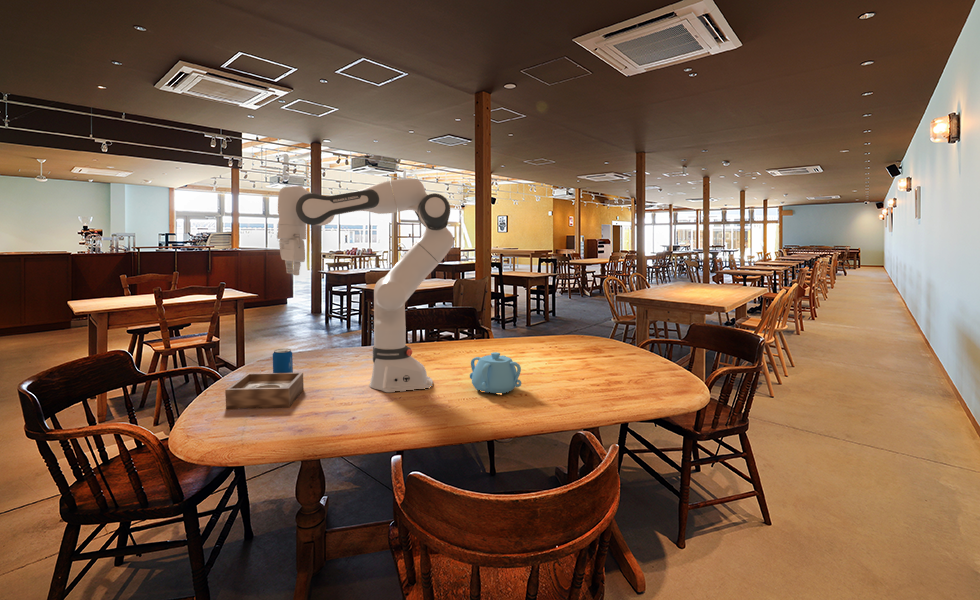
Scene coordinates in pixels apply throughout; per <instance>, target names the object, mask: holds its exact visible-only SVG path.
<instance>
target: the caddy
mask: <svg viewBox="0 0 980 600" xmlns="http://www.w3.org/2000/svg"><path fill="white" fill-rule="evenodd" d="M304 388H305V387H304V372H293V373H273V372H263V373H261V372H259V373H258V372H257V373H255V372H254V373H246V374H245V375H243V376H242V377H240V378H239V379H238V380H237V381H235V382H234V383H232V384H231V385H230V386H229V387H227V388H225V390H224V392H225V410H242V409H244V408H249V409H279V408H280V409H281V408H282V407H283V408H284V407H287V408H290V407H291V405H292V404H293V403H295V401H296V400H297V398H298V397H299V396H300V394H301V393H302V392H303V391H304ZM238 408H240V409H238ZM241 408H242V409H241ZM244 410H245V409H244Z"/></svg>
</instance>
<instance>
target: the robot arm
mask: <svg viewBox="0 0 980 600" xmlns="http://www.w3.org/2000/svg"><path fill="white" fill-rule="evenodd" d="M403 211H413V212H414V213H415V215H416V216H417V218H418V220H419V221H420V223H421V225H423V226H424V227H425V231H424V233H423V235H422V236H420V238H419V239H418V240H417V241H416V242H415V243H414V244H413V245H412V246H411V247H410V248H409V249H408V250H407V251H406V252H405V254H404V255H403V256H401V258H399V260H398V261H397V262H396V263H395V264H394V265H393V267H392V268H391V269H390V270H389V271H388V273H387V274H386V275H385V276H383V277H381V278H380V279H378V280H377V282H376V283H375V285H374V287H373V347H372V362H373V366H372V375H371V378H370V382H369V387H370V388H371V389H375V390H379V391H382V392H383V393H396V392H395V391H400V392H407V391H406V390H413V391H415V390H414V389H424V388H429V387H430V386H432V387H433V385H434V383H433V382H434V381H433V379H432V378H431V377H430V376H429V375H427V370H426V367H425V366H424V363H423V364H422V363H421V362H420V361H419V360H417V359H416V358H414V357H413V356H412V354H413V350H412V348H411V346H408V345H407V344H406V343H407V342H406V339H407V338H406V334H407V333H406V330H407V329H406V328H407V327H406V309H405V308H406V306H405V305H406V303H407V301H408V300H409V299H410V297H411V296H412V295H413V294H414V293H415V291H416V290H417V289H418V288H419V286H420V285H421V284H422V283H423V282H424V281H425V279H426V278H427V277H428V276H429V274H431V273H432V272H433V271H434V269H436V267H438V265H439V264H440V263H441V262H442V261H443V259H444V258H446V256H447V254H449V252H450V250H451V249H452V247H453V246H454V242H455V241H454V240H455V239H454V236H453V233H452V232H451V231H450V230H449V229H448V228H447V227H448V223H449V218H450V215H451V205H450V202H449V201H448V199H447V198H446V197H445V196H444V195H442V194H439V193H437V192H436V193H429V194H428V193H427V191H426V189H425V187H424V184H423V182H421V180H419V179H417V178H399V179H391V180H386V181H383V182H379V183H375V184H373V185H370V186H368V187H365V188H362V189H359V190H355V191H350V192H344V193H338V194H332V195H322V194H318V193H313V192H311V191H309V190H307V189H305V188H304V187H303V186H301V185H288V186H284V187H282V188H281V189H280V190H279V192H278V197H277V213H278V222H277V234H276V235H277V239H278V240H279V244H278V245H279V253H280V258H281V260H282V261H284V263H285V268H286V269H285V270H286V274H290V275H293V276H299V275H300V271H301V266H302V265H301V263H304V262H305V260H306V249H305V241H304V240H307V225H310V226H326V225H328V224H330V223H331V222H332V221H333V220H334V218H335V216H337V215H338V216H339V215H342V214H347V213H354V212H370V213H372V214H374V213H375V214H378V215H380V214H381V215H382V214H383V215H384V214H386V215H387V214H394V213H399V212H403ZM432 384H433V385H432ZM429 389H430V388H429Z"/></svg>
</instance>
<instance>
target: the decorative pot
mask: <svg viewBox="0 0 980 600" xmlns="http://www.w3.org/2000/svg"><path fill="white" fill-rule="evenodd" d="M475 361H477V363H476V362H475ZM475 363H476V364H475ZM470 367H471V373H470V374H469V379H471V384H472V386H473V387H474V389H475V390H477V391H479V390H481V391H485V392H484V393H489V392H490V393H489V394H495V393H503V394H506V392H507V393H510V392H511V391H513V390H514V389H515V388H520V387H521V386H522V381H521V379H519V377H520V374H521V372H522V371H521V370H522V366H521V365H520V364H519V363H518V362H516V361H514V360H513V359H512V358H511V357H508V356H506V355H501V353H500V352H497V351H496V352H490V354H488V355H484V356H482V357H480V356H475V357H473V358H472V359H471V360H470ZM509 391H510V392H509Z"/></svg>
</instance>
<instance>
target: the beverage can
mask: <svg viewBox="0 0 980 600" xmlns="http://www.w3.org/2000/svg"><path fill="white" fill-rule="evenodd" d="M293 363H294V362H293V352H292V349H291V348H277V349H274V350H273V353H272V373H294V368H293V366H294V365H293Z"/></svg>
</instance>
